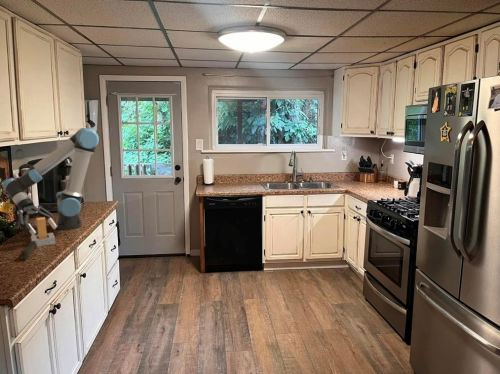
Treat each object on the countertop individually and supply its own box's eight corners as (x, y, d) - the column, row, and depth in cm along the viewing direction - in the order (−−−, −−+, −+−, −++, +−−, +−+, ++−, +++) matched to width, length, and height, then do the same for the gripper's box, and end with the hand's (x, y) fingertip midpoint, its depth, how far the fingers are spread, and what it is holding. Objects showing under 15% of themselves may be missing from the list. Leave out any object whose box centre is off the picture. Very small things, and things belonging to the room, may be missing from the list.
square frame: (53, 238, 218) (52, 232, 217) (55, 243, 209) (54, 237, 208) (31, 241, 212) (30, 235, 211) (32, 247, 203) (32, 240, 202)
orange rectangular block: (46, 241, 213) (44, 217, 210) (47, 243, 210) (45, 218, 207) (38, 242, 211) (36, 218, 208) (39, 244, 207) (37, 219, 205)
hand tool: (28, 249, 200) (27, 241, 199) (37, 248, 201) (36, 240, 200) (18, 262, 182) (17, 253, 181) (27, 261, 183) (26, 252, 183)
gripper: (39, 201, 224) (60, 229, 221) (-1, 211, 201) (21, 241, 198) (45, 193, 221) (66, 221, 218) (4, 202, 198) (27, 232, 195)
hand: (45, 230), depth 208 cm, fingers open, 13 cm apart
